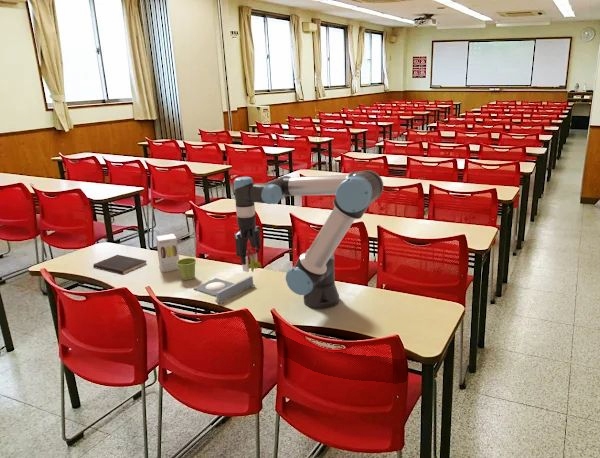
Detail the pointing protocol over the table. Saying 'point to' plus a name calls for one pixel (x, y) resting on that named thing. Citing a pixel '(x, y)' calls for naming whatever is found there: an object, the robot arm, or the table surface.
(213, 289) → the mat
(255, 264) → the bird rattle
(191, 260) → the plant pot
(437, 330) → the table surface
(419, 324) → the table surface
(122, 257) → the hardcover book
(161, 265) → the supplement box
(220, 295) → the long grey bar
